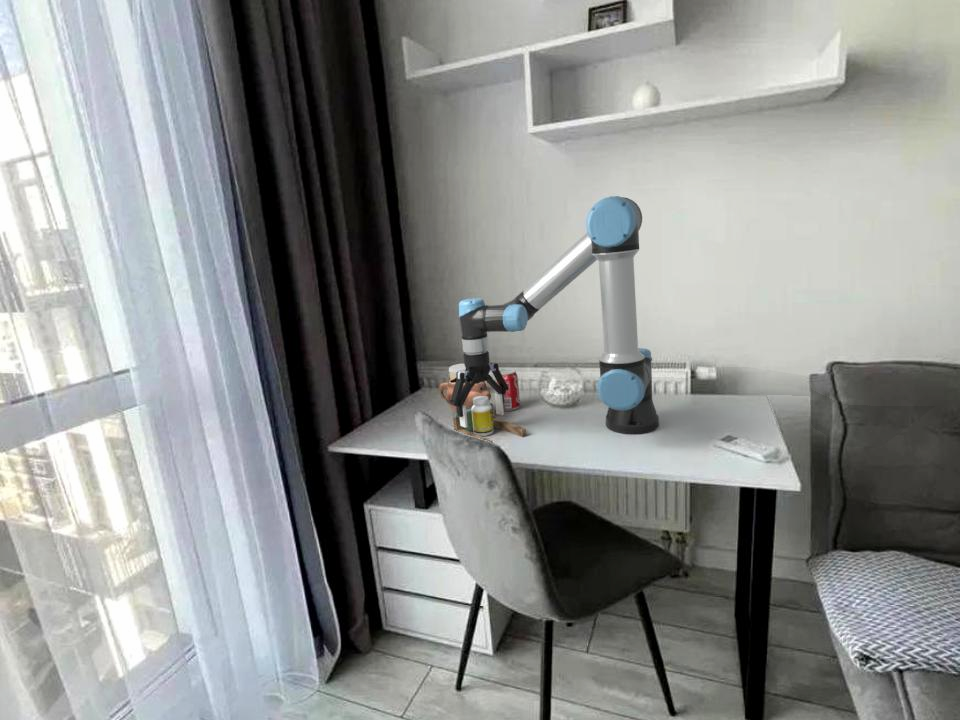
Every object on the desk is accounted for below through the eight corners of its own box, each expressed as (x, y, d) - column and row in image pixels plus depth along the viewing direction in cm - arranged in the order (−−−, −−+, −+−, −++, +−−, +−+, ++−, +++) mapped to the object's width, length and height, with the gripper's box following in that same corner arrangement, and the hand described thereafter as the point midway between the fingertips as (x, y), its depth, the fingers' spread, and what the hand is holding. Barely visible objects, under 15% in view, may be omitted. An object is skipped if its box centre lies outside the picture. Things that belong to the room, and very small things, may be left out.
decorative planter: (430, 422, 181) (426, 382, 178) (449, 410, 192) (445, 372, 188) (485, 427, 172) (481, 385, 169) (501, 415, 182) (498, 374, 179)
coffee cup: (476, 393, 210) (473, 362, 207) (477, 400, 200) (474, 368, 198) (451, 395, 209) (448, 364, 207) (451, 402, 200) (448, 370, 197)
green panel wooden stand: (526, 435, 162) (524, 413, 161) (488, 449, 154) (486, 427, 153) (491, 422, 176) (489, 402, 174) (454, 435, 168) (452, 414, 166)
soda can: (520, 410, 185) (518, 373, 182) (499, 412, 185) (496, 375, 182) (519, 404, 192) (517, 367, 189) (499, 405, 192) (496, 369, 189)
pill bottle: (496, 434, 166) (493, 399, 163) (477, 438, 164) (473, 402, 162) (490, 427, 172) (487, 393, 169) (471, 431, 170) (468, 397, 167)
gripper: (501, 342, 172) (506, 407, 177) (433, 358, 158) (441, 428, 163) (516, 344, 166) (521, 411, 171) (447, 362, 152) (455, 434, 157)
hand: (482, 420), depth 167 cm, fingers open, 13 cm apart
